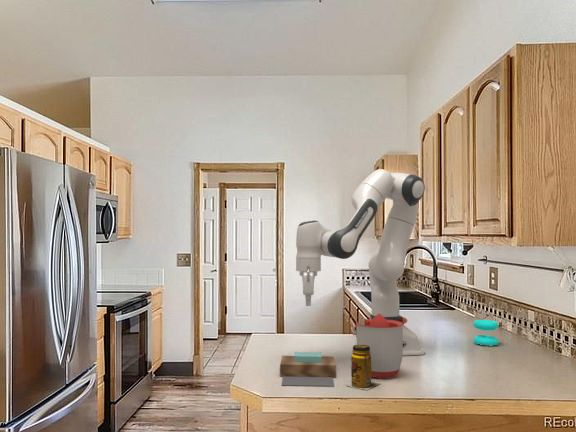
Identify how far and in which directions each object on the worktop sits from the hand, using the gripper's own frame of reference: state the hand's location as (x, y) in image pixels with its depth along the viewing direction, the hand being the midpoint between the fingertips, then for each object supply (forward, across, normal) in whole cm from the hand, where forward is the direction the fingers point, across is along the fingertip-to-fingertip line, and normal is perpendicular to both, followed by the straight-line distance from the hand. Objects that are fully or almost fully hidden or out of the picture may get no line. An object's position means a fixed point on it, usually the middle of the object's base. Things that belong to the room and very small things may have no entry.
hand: (308, 305), depth 174 cm
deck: (+21, -9, 0) cm, 23 cm away
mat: (+21, -20, 0) cm, 29 cm away
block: (+17, -9, 0) cm, 19 cm away
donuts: (+22, +40, -76) cm, 89 cm away
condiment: (+21, -22, -17) cm, 35 cm away
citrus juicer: (+21, -9, -23) cm, 33 cm away
